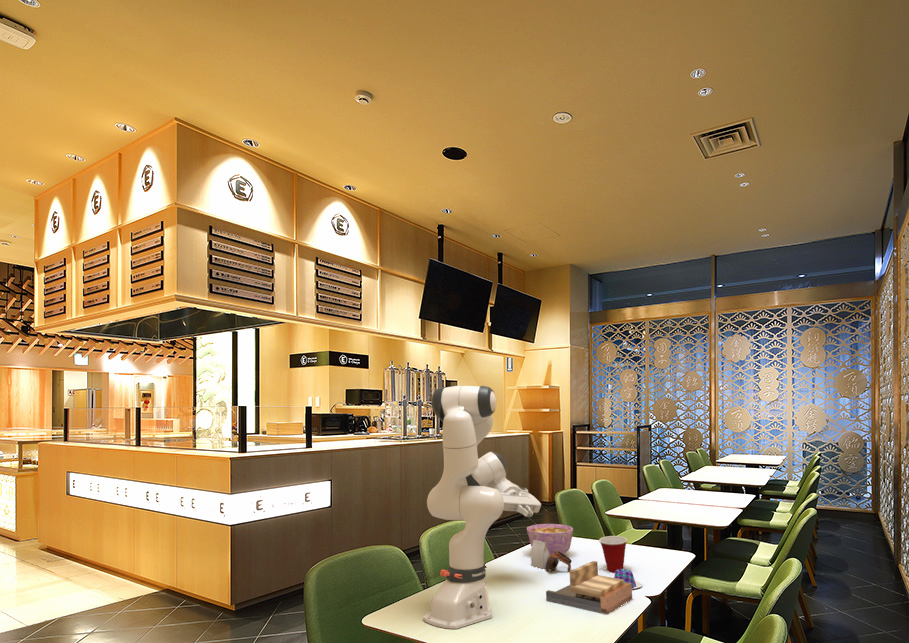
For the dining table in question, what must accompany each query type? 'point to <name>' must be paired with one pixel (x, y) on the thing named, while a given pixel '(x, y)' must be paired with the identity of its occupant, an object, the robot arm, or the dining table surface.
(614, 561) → the plastic cup
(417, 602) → the dining table surface
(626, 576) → the pudding
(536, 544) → the tea bag
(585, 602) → the track
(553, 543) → the bowl of food
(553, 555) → the brown bent arch
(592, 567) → the tan slatted block
